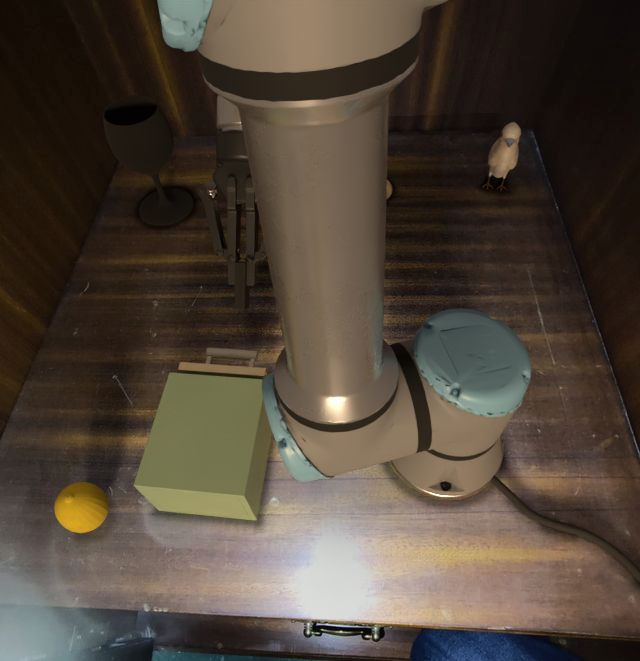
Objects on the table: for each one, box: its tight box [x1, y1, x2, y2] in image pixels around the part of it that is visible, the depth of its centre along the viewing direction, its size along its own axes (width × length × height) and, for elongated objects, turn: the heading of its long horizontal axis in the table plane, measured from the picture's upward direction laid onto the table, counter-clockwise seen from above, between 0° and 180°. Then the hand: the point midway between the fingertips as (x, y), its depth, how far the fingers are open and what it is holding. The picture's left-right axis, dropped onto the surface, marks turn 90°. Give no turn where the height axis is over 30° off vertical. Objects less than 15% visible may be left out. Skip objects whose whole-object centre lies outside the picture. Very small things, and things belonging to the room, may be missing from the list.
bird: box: [481, 121, 522, 192], centre depth 91 cm, size 5×14×15 cm, turn 163°
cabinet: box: [133, 372, 273, 522], centre depth 65 cm, size 15×13×10 cm
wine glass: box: [102, 94, 195, 227], centre depth 90 cm, size 10×10×20 cm
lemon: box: [53, 481, 110, 534], centre depth 62 cm, size 6×6×8 cm
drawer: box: [177, 347, 268, 379], centre depth 67 cm, size 18×11×8 cm, turn 174°
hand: (241, 308), depth 73 cm, fingers closed
